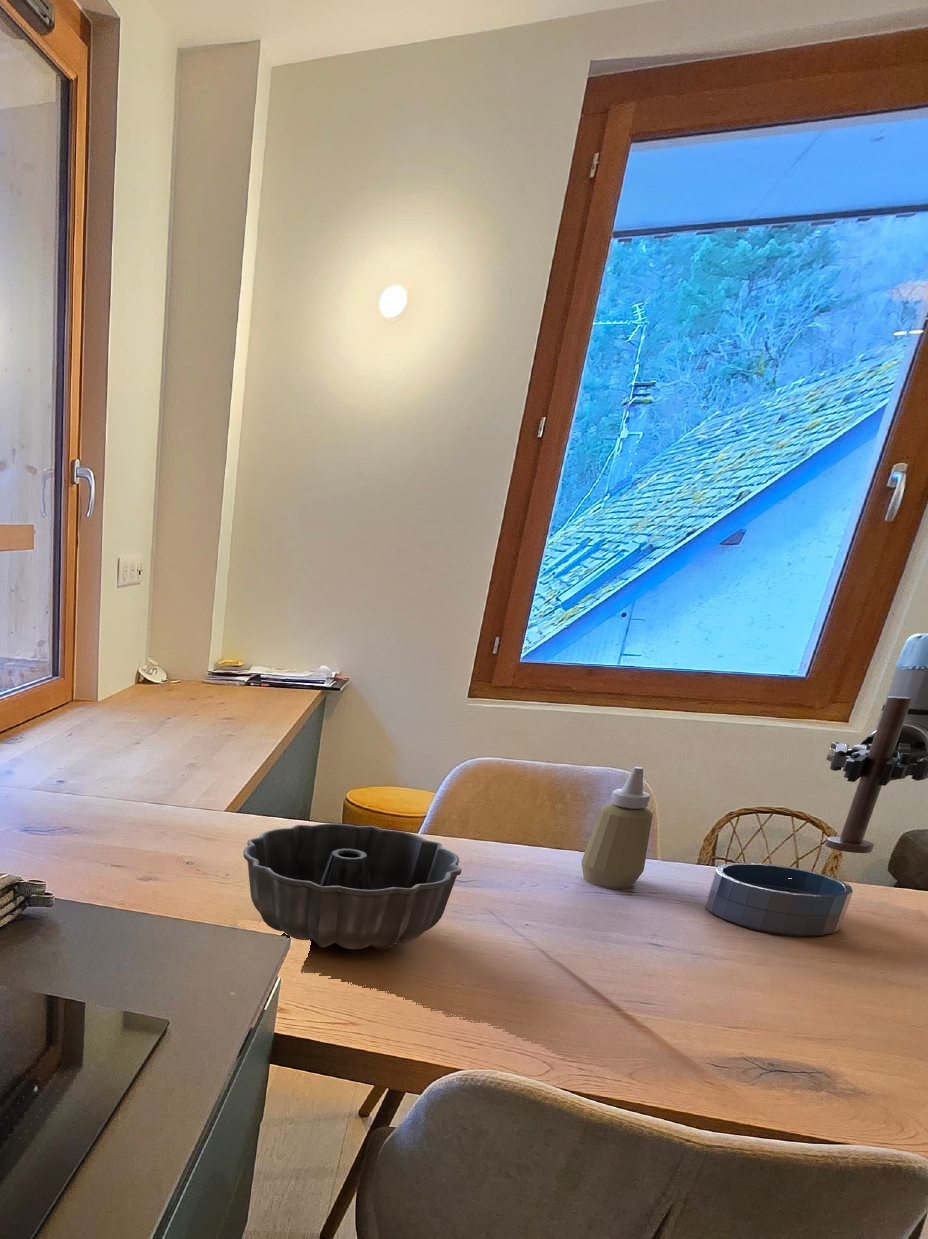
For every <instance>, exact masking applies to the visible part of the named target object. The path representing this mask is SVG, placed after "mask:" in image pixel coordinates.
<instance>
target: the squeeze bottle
mask: <svg viewBox="0 0 928 1239" xmlns="http://www.w3.org/2000/svg"><path fill="white" fill-rule="evenodd" d="M650 798H651V794H650V793H649V792H646V791H644V767H642V766H633V767H632V769H631V771H630V773H629V775H628V777H627V779H626V781H625V783H624V784H623V787H622V788H616V789H614V790H613V791H612V794H611V797H610V801H609V803H606V804H605V805H603V806H601V808H600V811H599V814H598V816H597V819H596V821H595V823H594V826H593V829H592V832H591V834H590V837H589V840H588V842H587V845H586V848H585V851H584V854H583V856H582V859H581V869H582V870H581V871H582V877H583V880H584V881H585V882H586V883H588V884H590V885H592V886H596V887H599V888H605V889H610V890H626V889H627V890H628V889H630V888H632V887H633V886H634V885H635V883H636V882H637V881H638V879H639V878H640V876H641V875H642V874H643V872H644V871H645V864H646V859H647V854H648V852H647V851H648V847H649V840H650V835H651V834H650V833H651V827H652V822H653V816H654V815H653V814H654V813H653V811H651V809H649V807H648V804H649V802H650Z"/></svg>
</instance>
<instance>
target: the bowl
mask: <svg viewBox="0 0 928 1239" xmlns="http://www.w3.org/2000/svg"><path fill="white" fill-rule="evenodd" d="M788 878H792V879H788ZM853 893H854V890H853V887H852V886H851V885H850V884H848V883H847V882H845V881H843V880H840V879H838V878H835V877H832V876H830V875H826V874H823V873H819V872H816V871H812V870H807V869H801V868H797V867H792V866H786V865H778V864H770V863H760V862H759V863H758V862H731V863H723V864H720V865H719V866H716V868H715V871H714V874H713V878H712V881H711V885H710V888H709V891H708V895H707V899H706V901H705V906H704V907H705V908H706V909H707V910H708V911H709V912H710V913H711V914H713V915H715V916H717V917H719V918H721V919H723V920H725V921H727V922H730V923H732V924H735V925H737V926H740V927H743V928H746V929H749V930H753V931H758V932H762V933H766V934H772V935H779V936H788V937H801V938H803V937H804V938H807V937H808V938H809V937H820V936H824V935H830V934H834V933H836V932H838V931H839V930H840V929H841V927H842V924H843V920H844V918H845V915H846V913H847V911H848V907H849V904H850V902H851V899H852V896H853Z"/></svg>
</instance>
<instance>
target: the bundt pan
mask: <svg viewBox="0 0 928 1239" xmlns="http://www.w3.org/2000/svg"><path fill="white" fill-rule="evenodd" d="M246 841H247V842H246V845H247V846H246V847H244V849H243V852H242V856H243V858H244V859H245V861H247V870H248V881H249V892H250V897H251V898H250V899H251V901H252V904H253V906H254V908H255V909H256V910H257V911H258V913H259V914H260V916H261V919H262V920H263V922H264V923H265V924H266V925H267V926H268V927H270V928H271V929H272V930H275V931H279V932H283V933H285V935H287V936H288V937H291V938H292V939H295V940H299V941H311V940H313V941H314V942H315V943H316V944H317V945H318V946H319V947H320V948H327V947H330V946H332V945H334V944H337V945H338V946H340V947H342V948H344V949H347V950H362V949H366V948H368V947H369V946H370V947H372V948H375V949H376V950H387V949H389V948H391V947H393V946H394V945H395V944H406V943H408V942H412V941H414V940H416V939H417V938H419V937H421V936H422V935H423V934H424V933H425V932H427V931H429V930H431V929H433V927H435V926H436V925H437V924H438V923H439V921H440V920H441V918H442V917H443V915H444V912H445V910H446V907H447V904H448V901H449V899H450V896H451V893H452V890H453V888H454V885H455V882H456V879H457V878H458V877H457V876H461V874H462V870H463V869H462V868H461V867H459V863H460V856H459V855H457V854H456V853H455V852H453V851H452V850H449V849H446V848H443V845H442V843H441V842H439V841H438V842H437V841H433V840H428V839H425V838H424V837H422V836H420V835H417V834H415V833H411V832H407V831H401V830H396V829H383V828H381V827H379V826H375V825H360V826H359V825H355V824H348V823H347V824H346V823H319V824H313V825H308V824H296V825H293V826H291V827H284V828H274V829H271V830H266V831H264V832H262V833H261V834H259V836H258V837H253V838H249V839H248V840H246Z"/></svg>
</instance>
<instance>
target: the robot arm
mask: <svg viewBox="0 0 928 1239" xmlns="http://www.w3.org/2000/svg"><path fill="white" fill-rule="evenodd" d="M889 696H899V697H910V698H912V701H911V704H910V707H909V710H908V712H907V715H906V718H905V721H904V724H903V727H902V730H901V732H900V735H899V738H898V741H897V744H896V747H895V750H894V752H893V755H892V758H891V759H890V760H889V761H888V762H887V763H886V764H885V766H884V769H883V772H882V775H881V778H880V780H879V783H878V785H882V787H883V786H884V787H886V786H887V785H888V784H889V783H890V782H891V781H896V780H904V779H906V777H908V776H911V780H914V781H916V782H917V781H918V782H919V781H924V780H926V779H928V632H926V633H925V632H922V633H915V634H912V635H911V636H909V637H908V638H907V639H906V641H905V643H904V645H903V647H902V648H901V651H900V653H899V657H898V659H897V660H896V662H895V667H894V671H893V674H892V677H891V681H890V684H889V687H888V691H887V693H886V695H885V700H884V703H883V705H882V708H881V710H880V711H879V712H880V713H879V715H878V717H877V721H876V724H875V726H874V730H873V732H872V733H870V734H869V735H868V736H867V737H865V739H863V740H862V741H861V743H860V744H855V745H853V746H852V747H851V748H849V747H850V745H849V744H848V743H846V744H844V743H842V742H840V741H833V742H831V743H830V747H829V749H828V753H827V756H826V761H828V762H830V765H829V770H831V771H835V772H838V771H842V772H844V775H843V778H845V779H846V781H847V782H850V783H856V781H858V780H860V778H861V775H862V772H863V769H864V766H865V763H866V760H867V757H868V754H869V751H870V748H871V745H872V742H873V739H874V736H875V733H876V731H877V728H878V725H879V722H880V719H881V716H882V713H883V710H884V707H885V704H886V701H887V698H888V697H889ZM842 768H843V769H842Z"/></svg>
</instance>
